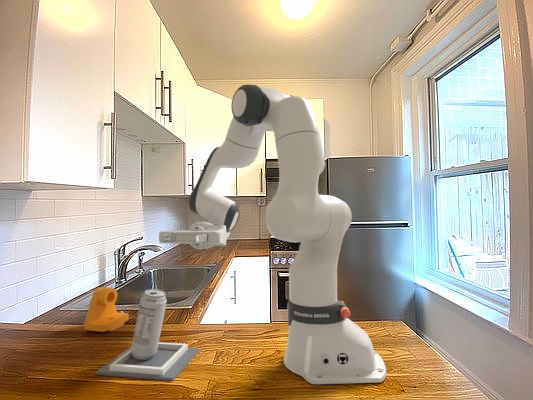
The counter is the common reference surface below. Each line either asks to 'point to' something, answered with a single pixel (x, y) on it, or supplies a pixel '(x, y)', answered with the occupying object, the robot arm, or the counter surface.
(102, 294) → the bracket
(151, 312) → the energy drink can
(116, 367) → the framed grey tray
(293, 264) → the robot arm
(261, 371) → the counter surface
